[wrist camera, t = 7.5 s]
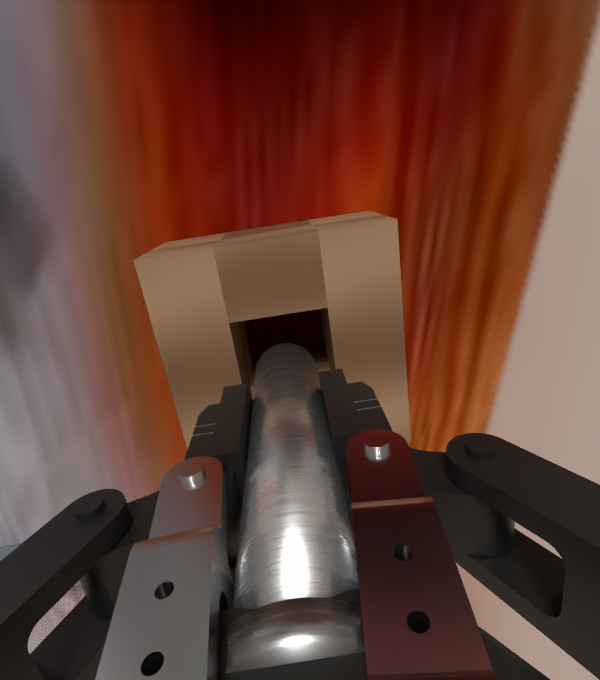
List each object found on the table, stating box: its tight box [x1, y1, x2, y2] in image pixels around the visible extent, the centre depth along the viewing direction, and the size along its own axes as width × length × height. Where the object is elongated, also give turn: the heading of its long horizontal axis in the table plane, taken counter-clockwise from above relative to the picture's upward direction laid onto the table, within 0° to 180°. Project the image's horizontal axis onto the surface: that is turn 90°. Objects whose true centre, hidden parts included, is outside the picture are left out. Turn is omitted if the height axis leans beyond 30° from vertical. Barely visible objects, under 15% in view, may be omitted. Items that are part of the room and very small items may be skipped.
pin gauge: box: [222, 343, 365, 673], centre depth 10 cm, size 3×3×11 cm
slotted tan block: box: [133, 211, 411, 450], centre depth 18 cm, size 9×9×4 cm
